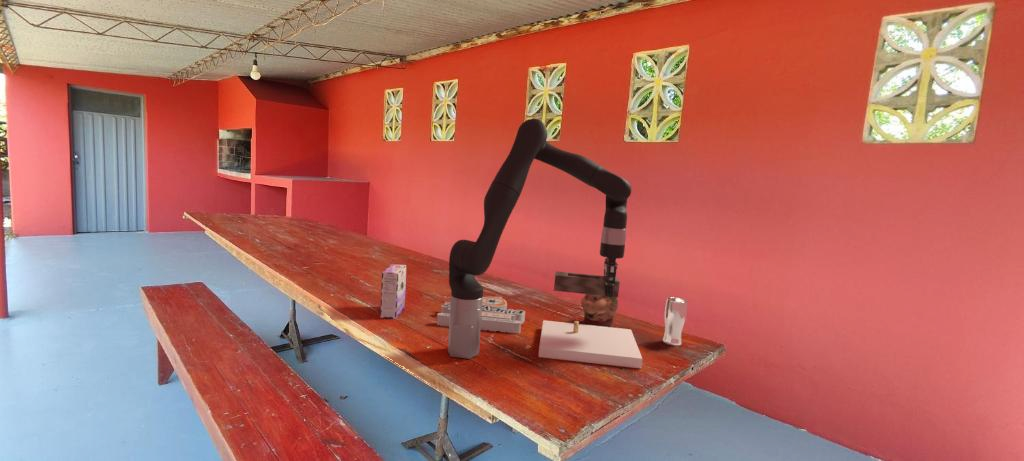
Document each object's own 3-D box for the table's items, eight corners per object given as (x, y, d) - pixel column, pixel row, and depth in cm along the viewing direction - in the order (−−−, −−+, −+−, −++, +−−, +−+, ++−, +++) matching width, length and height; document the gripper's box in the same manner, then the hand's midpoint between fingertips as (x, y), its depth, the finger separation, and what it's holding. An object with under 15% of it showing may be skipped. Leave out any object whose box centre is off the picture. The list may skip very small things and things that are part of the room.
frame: (616, 292, 160) (617, 277, 159) (617, 297, 154) (619, 281, 153) (554, 286, 162) (555, 271, 161) (553, 290, 156) (555, 275, 155)
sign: (433, 314, 167) (452, 292, 197) (432, 326, 168) (452, 302, 197) (522, 323, 164) (528, 299, 194) (521, 335, 165) (527, 309, 194)
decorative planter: (593, 315, 192) (597, 280, 190) (623, 322, 186) (627, 286, 184) (571, 327, 175) (575, 289, 173) (604, 335, 169) (608, 296, 167)
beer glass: (657, 340, 168) (662, 298, 166) (668, 337, 172) (673, 295, 170) (675, 347, 163) (680, 303, 161) (686, 343, 167) (692, 301, 165)
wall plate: (641, 368, 143) (643, 347, 142) (538, 356, 146) (540, 335, 145) (630, 337, 169) (632, 319, 168) (542, 328, 172) (544, 310, 171)
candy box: (389, 306, 184) (391, 263, 182) (405, 307, 184) (407, 264, 182) (379, 318, 170) (381, 271, 168) (396, 319, 170) (398, 272, 168)
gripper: (627, 246, 147) (621, 301, 150) (622, 239, 162) (617, 289, 164) (602, 244, 148) (596, 298, 150) (599, 237, 162) (594, 287, 165)
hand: (607, 293), depth 157 cm, fingers closed on frame, 6 cm apart
